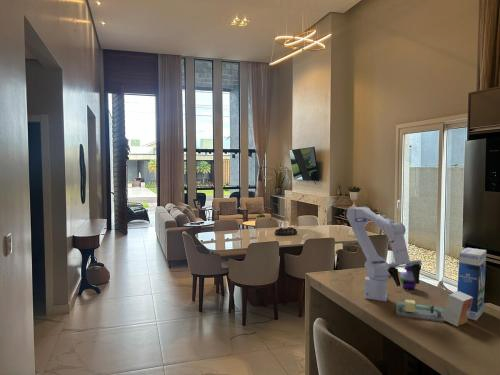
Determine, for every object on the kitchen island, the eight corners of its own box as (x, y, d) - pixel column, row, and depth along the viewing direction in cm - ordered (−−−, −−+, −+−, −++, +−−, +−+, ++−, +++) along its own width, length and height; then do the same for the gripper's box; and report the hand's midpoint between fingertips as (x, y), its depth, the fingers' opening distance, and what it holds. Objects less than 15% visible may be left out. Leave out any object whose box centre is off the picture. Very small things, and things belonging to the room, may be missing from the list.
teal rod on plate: (396, 315, 144) (396, 303, 144) (395, 308, 152) (396, 296, 151) (444, 322, 138) (445, 310, 138) (441, 314, 146) (442, 302, 145)
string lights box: (476, 321, 140) (480, 255, 138) (454, 315, 145) (458, 251, 143) (483, 311, 150) (487, 249, 148) (462, 306, 155) (466, 246, 153)
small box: (457, 327, 134) (463, 301, 132) (442, 319, 139) (448, 294, 137) (467, 322, 139) (474, 297, 137) (452, 314, 143) (459, 290, 141)
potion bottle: (395, 287, 178) (396, 263, 178) (407, 284, 182) (408, 261, 182) (410, 292, 171) (411, 267, 170) (422, 290, 175) (423, 265, 174)
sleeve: (405, 311, 145) (405, 302, 145) (404, 307, 148) (405, 299, 148) (414, 312, 144) (415, 303, 144) (414, 309, 147) (414, 300, 147)
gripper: (386, 252, 147) (394, 286, 142) (421, 248, 147) (430, 282, 143) (380, 254, 153) (387, 287, 149) (414, 250, 154) (422, 283, 150)
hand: (408, 285), depth 146 cm, fingers open, 7 cm apart
